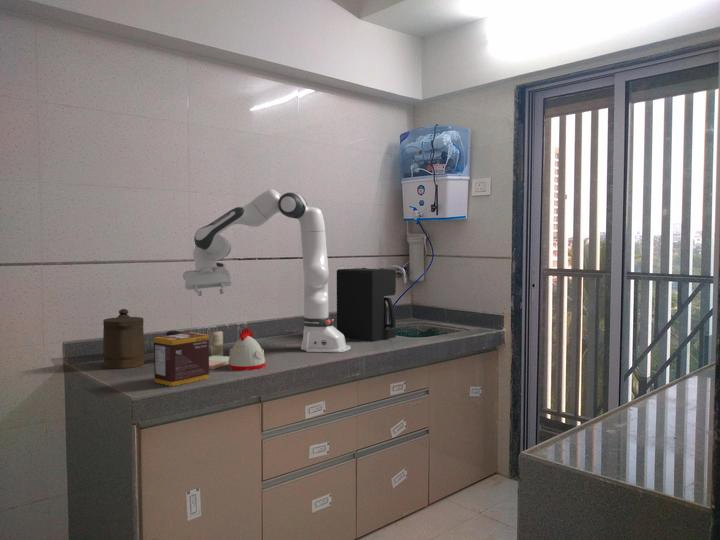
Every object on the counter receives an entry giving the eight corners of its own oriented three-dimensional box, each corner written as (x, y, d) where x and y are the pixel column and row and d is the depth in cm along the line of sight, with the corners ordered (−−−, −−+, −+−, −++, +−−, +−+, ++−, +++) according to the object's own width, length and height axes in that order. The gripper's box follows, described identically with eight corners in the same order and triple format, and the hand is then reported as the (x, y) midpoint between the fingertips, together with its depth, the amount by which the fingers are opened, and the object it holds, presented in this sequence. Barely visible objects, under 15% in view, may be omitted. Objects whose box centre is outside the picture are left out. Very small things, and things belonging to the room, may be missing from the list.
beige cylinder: (225, 354, 242) (225, 331, 242) (218, 356, 238) (218, 333, 237) (215, 354, 244) (215, 331, 244) (208, 356, 239) (208, 332, 239)
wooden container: (139, 359, 232) (138, 306, 232) (148, 365, 220) (147, 309, 219) (100, 363, 224) (99, 308, 223) (107, 370, 212) (106, 312, 211)
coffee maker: (403, 337, 286) (403, 268, 285) (378, 342, 272) (378, 270, 270) (361, 332, 305) (361, 267, 303) (336, 336, 290) (336, 268, 289)
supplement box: (210, 378, 199) (209, 334, 198) (171, 387, 186) (170, 340, 186) (192, 374, 205) (191, 331, 204) (153, 382, 193) (153, 337, 192)
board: (238, 360, 231) (238, 357, 231) (213, 369, 214) (213, 365, 214) (213, 358, 235) (213, 355, 235) (186, 367, 218) (186, 363, 218)
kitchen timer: (221, 369, 214) (220, 329, 213) (241, 362, 227) (240, 325, 226) (253, 371, 209) (252, 331, 209) (271, 364, 222) (271, 326, 221)
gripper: (182, 267, 249) (186, 292, 242) (229, 263, 258) (234, 287, 250) (182, 276, 254) (186, 300, 247) (227, 272, 262) (233, 296, 255)
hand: (211, 294), depth 248 cm, fingers open, 8 cm apart
